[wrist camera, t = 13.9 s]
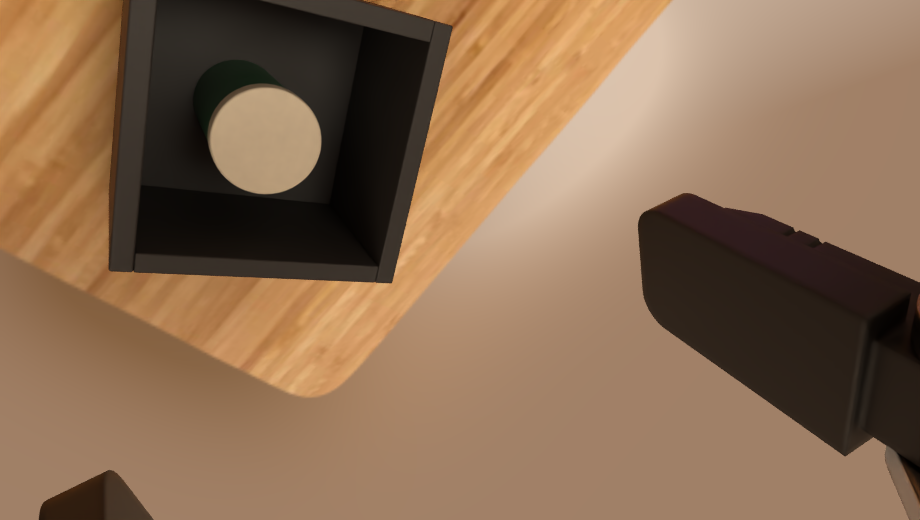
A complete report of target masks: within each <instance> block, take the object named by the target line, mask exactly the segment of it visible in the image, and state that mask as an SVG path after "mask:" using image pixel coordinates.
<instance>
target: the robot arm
mask: <svg viewBox="0 0 920 520" xmlns="http://www.w3.org/2000/svg"><path fill="white" fill-rule="evenodd" d="M638 234H639V247H640V260H641V274H642V287H643V295H644V299H645V302H646V304H647V307H648V309H649V311H650V312H651V314H652V315H653V317H654V318H655V319H656V321H657V322H658V323H659V324H660V325H661V326H662V327H664V328H665V329H666V330H668V331H669V332H671V333H672V334H673V335H675V336H676V337H678V338H679V339H680V340H682V341H683V342H685V343H686V344H687V345H689V346H690V347H692V348H693V349H694V350H696V351H697V352H699V353H700V354H702V355H703V356H704V357H706V358H707V359H709V360H710V361H711V362H713V363H714V364H716V365H717V366H718V367H720V368H721V369H723V370H724V371H726V372H727V373H728V374H730V375H731V376H733V377H734V378H735V379H737V380H738V381H740V382H741V383H742V384H744V385H745V386H747V387H748V388H749V389H751V390H752V391H754V392H755V393H757V394H758V395H759V396H761V397H762V398H764V399H765V400H767V401H768V402H769V403H771V404H772V405H773V406H775V407H776V408H778V409H779V410H780V411H782V412H783V413H785V414H786V415H788V416H789V417H790V418H792V419H793V420H795V421H796V422H797V423H799V424H800V425H802V426H803V427H804V428H806V429H807V430H809V431H810V432H811V433H813V434H814V435H816V436H817V437H819V438H820V439H821V440H823V441H824V442H825V443H827V444H828V445H830V446H831V447H833V448H834V449H835V450H837V451H838V452H840V453H841V454H842V455H844V456H847V455H848V454H849V453H851V452H852V451H854V450H855V449H857V448H858V447H859V446H861V445H863V444H864V443H865V442H867V441H868V440H870V439H871V438H873V437H874V438H876V439H877V440H879V441H881V442H882V443H883V444H885V445H887V446H886V451H885V462H886V465H887V468H888V471H889V473H890V475H891V478H892V480H893V482H894V485H895V487H896V489H897V492H898V494H899V496H900V499H901V501H902V504H903V506H904V508H905V510H906V513H907V515H908V518H909V520H920V282H917V281H915V280H913V279H910V278H908V277H906V276H903V275H901V274H899V273H896V272H894V271H892V270H890V269H887V268H885V267H883V266H880V265H878V264H876V263H873V262H871V261H869V260H866V259H864V258H862V257H860V256H857V255H855V254H853V253H850V252H848V251H846V250H843V249H841V248H839V247H837V246H834V245H832V244H830V243H827V242H824V243H823V244H822V243H821V242H820V241H819V239H818V238H816V237H814V236H811V235H809V234H806V233H804V232H802V231H798V232H795V231H794V229H793V227H791V226H788V225H786V224H784V223H781V222H779V221H777V220H774V219H772V218H770V217H768V216H765V215H763V214H758V213H752V212H747V211H741V210H736V209H730V208H723V207H721V206H718V205H716V204H713V203H711V202H709V201H707V200H705V199H703V198H700V197H698V196H696V195H693V194H690V193H683V194H681V195H678V196H676V197H674V198H672V199H670V200H668V201H666V202H664V203H662V204H660V205H658V206H656V207H654V208H652V209H650V210H648V211H646V212H644V213H643V214H642V215H641V216H640V219H639V222H638ZM39 520H153V518H152V517H151V516H150V514H149V513H148V512H147V511H146V509H145V508H144V507H143V505H142V504H141V503H140V501H139V500H138V499H137V497H136V496H135V495H134V494H133V492H132V491H131V490H130V488H129V487H128V486H127V485H126V483H125V482H124V481H123V480H122V478H121V477H120V476H119V475H118V474H117V473H115V472H114V471H111V470H108V471H106V472H104V473H102V474H100V475H98V476H96V477H94V478H91V479H89V480H87V481H85V482H83V483H81V484H79V485H77V486H75V487H73V488H71V489H69V490H67V491H65V492H63V493H61V494H59V495H56V496H55V497H52V498H50V499H48V500H46V501H45V502H44V503H43V504H42V506H41V509H40V515H39Z"/></svg>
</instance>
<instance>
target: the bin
mask: <svg viewBox="0 0 920 520" xmlns="http://www.w3.org/2000/svg"><path fill="white" fill-rule="evenodd" d="M451 32H452V26H451V25H447V24H444V23H440V22H437V21H433V20H430V19H426V18H423V17H419V16H416V15H412V14H409V13H405V12H402V11H399V10H395V9H392V8H388V7H385V6H381V5H377V4H374V3H370V2H366V1H363V0H123V7H122V21H121V35H120V48H119V62H118V76H117V89H116V103H115V117H114V130H113V144H112V158H111V171H110V185H109V271H117V272H132V271H133V270H134V272H137V273H161V274H185V275H209V276H233V277H257V278H281V279H304V280H328V281H352V282H376V283H392V281H393V277H394V272H395V268H396V264H397V260H398V255H399V251H400V247H401V243H402V239H403V234H404V230H405V226H406V222H407V217H408V213H409V209H410V205H411V201H412V196H413V192H414V188H415V184H416V180H417V175H418V171H419V167H420V163H421V158H422V154H423V150H424V146H425V142H426V137H427V133H428V129H429V125H430V120H431V116H432V112H433V108H434V104H435V99H436V95H437V91H438V87H439V82H440V78H441V74H442V70H443V66H444V61H445V57H446V53H447V49H448V44H449V40H450V36H451ZM227 60H245V61H249V62H252V63H254V64H257V65H259V66H260V67H262V68H263V69H265V70H266V71H267V72H268V73H269V74H271V75H272V76H273V77H274V78H275V79H276V80H277V81H278V82H279V83H280V84H281V85H283V86H284V87H285V88H286V89H288V90H289V91H291V92H293V93H294V94H296V95H297V96H298V97H299V98H301V99H302V100H303V101H304V102H305V103H306V104H307V105H308V106H309V107H310V109H311V110H312V111H313V113H314V115H315V116H316V119H317V121H318V123H319V127H320V130H321V151H320V155H319V158H318V160H317V163H316V165H315V166H314V168H313V170H312V171H311V172H310V174H309V175H308V176H307V177H306V178H305V179H304V180H303V181H302V182H300V183H299V184H298V185H296V186H294V187H293V188H290V189H288V190H286V191H283V192H279V193H274V194H257V193H252V192H249V191H245V190H243V189H241V188H239V187H237V186H235V185H234V184H232V183H231V182H230V181H228V180H227V179H226V178H225V177H224V176H223V175H222V174H221V172H220V171H219V169H218V168H217V166H216V164H215V163H214V161H213V158H212V156H211V153H210V150H209V146H208V141H207V139H206V136H205V134H204V132H203V130H202V128H201V125H200V123H199V121H198V119H197V116H196V114H195V110H194V103H193V98H194V91H195V88H196V85H197V83H198V81H199V79H200V78H201V76H202V75H203V74H204V73H205V72H206V71H207V70H208V69H209V68H211V67H212V66H214V65H216V64H218V63H220V62H223V61H227Z"/></svg>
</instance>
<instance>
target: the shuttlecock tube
mask: <svg viewBox="0 0 920 520" xmlns="http://www.w3.org/2000/svg"><path fill="white" fill-rule="evenodd" d="M193 103H194V110H195V114H196V116H197V119H198V121H199V123H200V125H201V128H202V130H203V132H204V134H205V136H206V139H207V141H208V146H209V150H210V153H211V156H212V158H213V161H214V163H215V164H216V166H217V168H218V169H219V171H220V172H221V174H222V175H223V176H224V177H225V178H226V179H227V180H228V181H230V182H231V183H232V184H234V185H235V186H237V187H239V188H241V189H243V190H245V191H249V192H252V193H257V194H274V193H279V192H283V191H286V190H288V189H290V188H293V187H294V186H296V185H298V184H299V183H300V182H302V181H303V180H304V179H305V178H306V177H307V176H308V175H309V174H310V172H311V171H312V170H313V168H314V166H315V165H316V163H317V160H318V158H319V155H320V151H321V130H320V127H319V123H318V121H317V119H316V116H315V115H314V113H313V111H312V110H311V109H310V107H309V106H308V105H307V104H306V103H305V102H304V101H303V100H302V99H301V98H299V97H298V96H297V95H296V94H294V93H293V92H291V91H289V90H288V89H286V88H285V87H284V86H283V85H281V84H280V83H279V82H278V81H277V80H276V79H275V78H274V77H273V76H272V75H271V74H269V73H268V72H267V71H266V70H265V69H263V68H262V67H260V66H259V65H257V64H254V63H252V62H249V61H245V60H227V61H223V62H220V63H218V64H216V65H214V66H212V67H211V68H209V69H208V70H207V71H206V72H205V73H204V74H203V75H202V76H201V78H200V79H199V81H198V83H197V85H196V88H195V91H194V98H193Z"/></svg>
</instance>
